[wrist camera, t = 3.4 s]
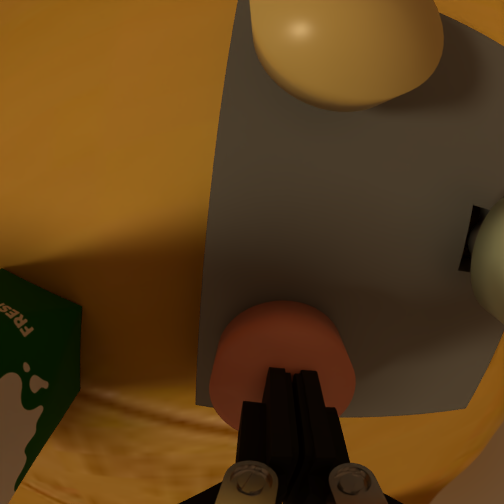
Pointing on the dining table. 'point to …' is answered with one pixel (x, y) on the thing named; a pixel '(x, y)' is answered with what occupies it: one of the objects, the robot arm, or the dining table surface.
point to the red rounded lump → (278, 356)
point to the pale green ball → (489, 261)
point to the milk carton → (33, 372)
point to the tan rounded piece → (347, 48)
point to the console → (361, 221)
